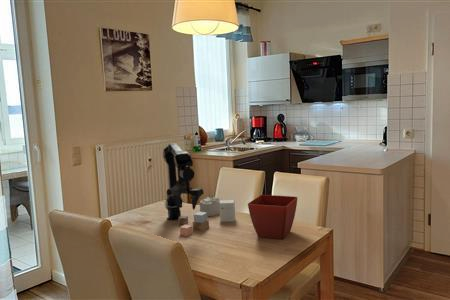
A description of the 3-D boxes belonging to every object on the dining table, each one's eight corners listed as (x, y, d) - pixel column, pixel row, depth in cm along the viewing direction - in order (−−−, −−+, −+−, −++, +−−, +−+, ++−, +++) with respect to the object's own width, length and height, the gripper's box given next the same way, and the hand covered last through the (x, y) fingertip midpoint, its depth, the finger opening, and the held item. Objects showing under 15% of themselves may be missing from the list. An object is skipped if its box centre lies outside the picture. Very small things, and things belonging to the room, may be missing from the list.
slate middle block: (194, 221, 203) (193, 214, 203) (199, 219, 208) (198, 211, 207) (202, 223, 201) (201, 215, 200) (207, 220, 205) (206, 212, 205)
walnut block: (178, 225, 212) (178, 218, 211) (181, 223, 215) (180, 215, 215) (186, 225, 211) (185, 218, 210) (188, 223, 215) (187, 215, 214)
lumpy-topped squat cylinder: (198, 212, 233) (197, 198, 232) (217, 208, 239) (217, 194, 238) (206, 216, 224) (205, 202, 223) (226, 212, 230) (225, 198, 229)
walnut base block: (193, 229, 204) (192, 222, 203) (199, 226, 209) (199, 218, 208) (202, 231, 201) (202, 223, 200) (209, 227, 206) (208, 220, 205)
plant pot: (262, 225, 203) (261, 194, 201) (298, 229, 195) (298, 196, 193) (248, 238, 186) (246, 203, 184) (287, 243, 178) (286, 206, 176)
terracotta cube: (180, 234, 197) (179, 227, 196) (185, 232, 200) (185, 224, 200) (187, 236, 194) (187, 228, 194) (192, 233, 198) (192, 225, 197)
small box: (235, 218, 218) (234, 199, 217) (234, 221, 213) (234, 202, 211) (221, 218, 219) (220, 200, 218) (220, 221, 214) (219, 203, 212)
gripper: (158, 180, 192) (161, 211, 193) (190, 181, 183) (192, 214, 184) (172, 176, 202) (174, 206, 203) (203, 177, 192) (205, 208, 194)
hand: (186, 208), depth 196 cm, fingers open, 9 cm apart
